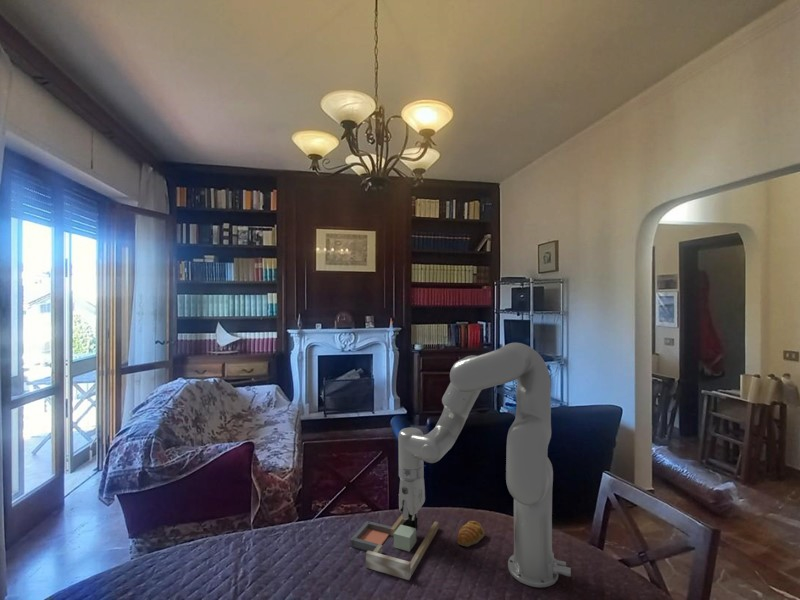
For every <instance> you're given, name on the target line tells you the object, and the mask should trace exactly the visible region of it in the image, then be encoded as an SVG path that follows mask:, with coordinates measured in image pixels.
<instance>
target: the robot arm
mask: <svg viewBox="0 0 800 600" xmlns="http://www.w3.org/2000/svg"><path fill="white" fill-rule="evenodd" d="M449 380H450V382H449V384H448V386H447V388H446V390H445V392H444V394H443V396H442V398H441V404H442V405H443V410H442V412H441V415H440V417H439V419H438V421H437V423H436V424H435V427H434V428H433V429H432V430H431V431H429V432H428V433H426V434H424V433H423V431H422V430H421V429H419V428H418V427H410V426H409V427H404V428H402V429H401V430H399V432H398V440H397V441H398V442H397V443H398V449H397V450H398V477H399V488H398V489H399V490H398V493H399V494H398V507H399V512H400V513H401V514H403V519H404V520H405V526H409V527H412V528H416V532H417V531H418V526H419V525H418V516H419V515H418V514H419V511H420V509H421V508H422V507H423V505H424V503H425V501H426V489H425V478H424V476H425V475H424V473H425V472H424V465H425V464H424V462H426V463H429V464H434V463H437V462H439V461H440V460H441V459H442V458H443V457H444V456H445V455H446V454H447V453H448V451H450V450H451V449H452V448H453V446H454V444H455V443H456V441H457V439H458V437H459V435H460V434H461V432H462V430H463V428H464V426H465V424H466V420H467V419H468V417H469V415H470V412H471V410H472V408H473V407H474V405H475V403H476V400H477V399H478V397H479V395H480V393H481V392H482V391H483V390H485V389H489V388H493V387H496V386H499V385H504V384H508V383H511V382H514V381H516V384H517V385H516V394H515V395H516V396H515V397H516V408H515V411H516V412H515V418H514V421H513V422H512V424H511V425H510V427H509V428H508V432H507V437H506V453H505V454H506V458H505V459H506V460H505V461H506V462H505V463H506V464H505V471H506V472H505V480H506V481H505V482H506V486H507V490H508V492H509V494H510V495H511V497H512V498H513V554H512V555H510V557H509V558H508V561H507V569H508V572H509V573H510V575H511V576H512V577H513V578H514V579H515V580H517V581H518V582H519V583H522V584H524V585H526V586H529V587H532V588H547V587H550V586H553V585H554V584H556V583H557V581H558V580H559V575H563V576H566V577H571V576H572V570H571V569H572V568H571V567H568V566H567V562H566V561H564V560H558V559H557V558H555V554H554V553H555V552H553V516H552V515H553V487H554V486H553V482H554V470H553V469H554V468H553V464H552V462H551V460H550V458H549V457H548V453H549V452H548V449H549V444H550V441H551V439H552V415H551V414H552V403H551V402H552V401H551V398H552V397H551V377H550V372H549V369H548V366H547V363H546V362H545V360H544V359H543V357H542V356H541V355H540V353H538V351H536V350H535V349H534V348H532V347H531V346H530V345H527V344H524V343H522V342H511V343H507V344H505V345H504V346H503V345H502V346H501V347H500V348H497V349H495V350H492V351H489V352H486V353H482V354H479V355H467V356H465V357H463V358H461V359H459V360H457V361H455V362H454V363H453V365H452V367H451V369H450V372H449Z"/></svg>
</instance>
